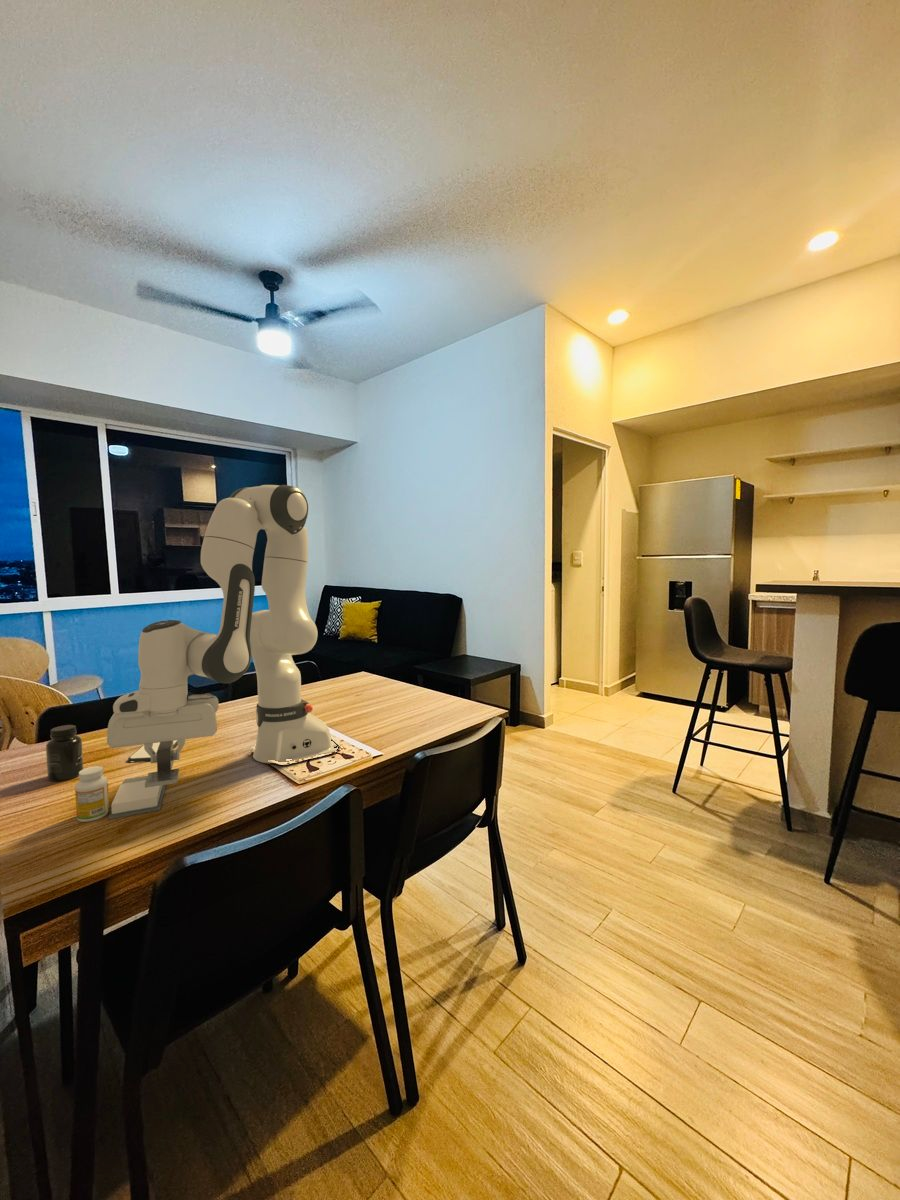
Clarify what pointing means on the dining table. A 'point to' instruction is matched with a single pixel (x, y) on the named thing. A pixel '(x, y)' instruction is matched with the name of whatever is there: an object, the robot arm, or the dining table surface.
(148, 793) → the tile
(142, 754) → the phone case
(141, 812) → the mat
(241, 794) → the dining table surface
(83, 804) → the supplement bottle
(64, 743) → the supplement bottle
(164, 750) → the grey post on base
